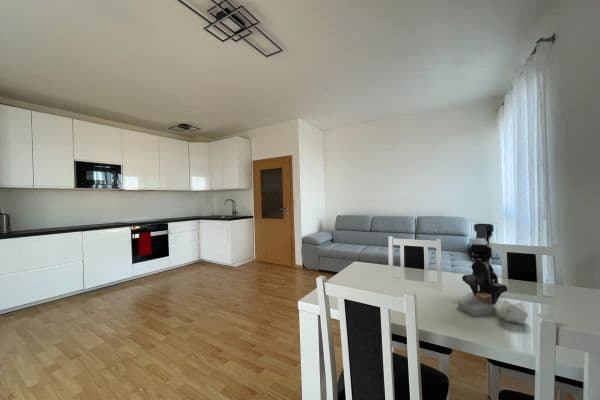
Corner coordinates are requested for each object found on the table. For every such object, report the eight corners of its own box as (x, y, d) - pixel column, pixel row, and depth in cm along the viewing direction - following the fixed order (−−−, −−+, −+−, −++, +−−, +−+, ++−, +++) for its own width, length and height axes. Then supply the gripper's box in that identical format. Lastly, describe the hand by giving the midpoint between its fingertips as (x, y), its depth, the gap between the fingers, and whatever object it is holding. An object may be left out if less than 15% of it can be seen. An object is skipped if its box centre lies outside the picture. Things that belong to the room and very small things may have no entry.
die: (495, 316, 102) (493, 303, 97) (510, 304, 102) (509, 291, 98) (517, 332, 94) (516, 319, 90) (534, 319, 95) (533, 305, 90)
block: (484, 300, 117) (483, 292, 117) (494, 304, 112) (493, 295, 112) (475, 301, 116) (475, 293, 116) (485, 305, 111) (484, 297, 111)
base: (473, 305, 112) (473, 298, 112) (492, 313, 103) (491, 306, 103) (458, 307, 110) (457, 301, 110) (475, 316, 101) (475, 309, 102)
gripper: (452, 265, 122) (454, 295, 121) (486, 276, 103) (489, 311, 103) (470, 263, 124) (472, 292, 123) (507, 273, 105) (510, 307, 105)
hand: (484, 300), depth 114 cm, fingers open, 9 cm apart
